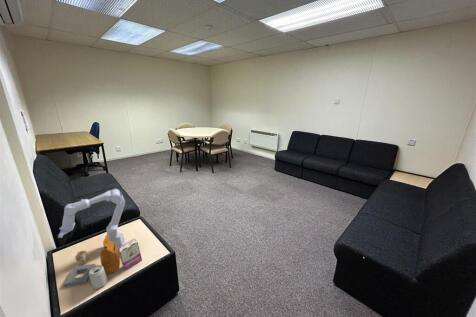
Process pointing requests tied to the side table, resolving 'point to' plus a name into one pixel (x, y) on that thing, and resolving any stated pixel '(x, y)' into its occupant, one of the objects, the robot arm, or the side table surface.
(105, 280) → the can
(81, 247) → the side table surface
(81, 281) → the housing
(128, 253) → the candy bar box
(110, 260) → the coffee package
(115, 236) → the robot arm
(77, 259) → the jaw block
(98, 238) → the side table surface
